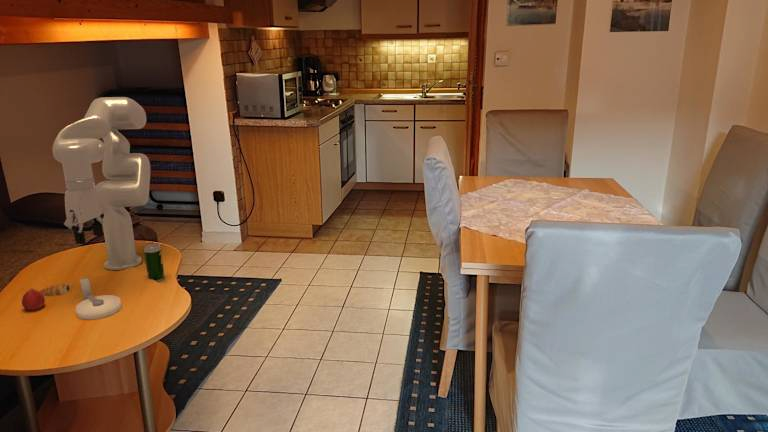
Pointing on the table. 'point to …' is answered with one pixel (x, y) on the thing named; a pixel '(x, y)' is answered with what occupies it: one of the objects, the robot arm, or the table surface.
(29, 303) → the onion
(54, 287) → the pastry
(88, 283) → the dial
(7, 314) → the table surface
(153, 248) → the beer can
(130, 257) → the robot arm
